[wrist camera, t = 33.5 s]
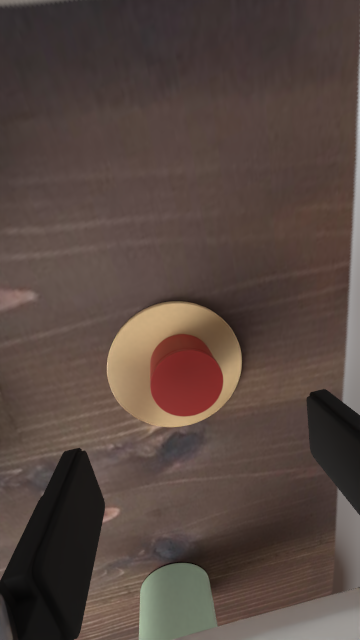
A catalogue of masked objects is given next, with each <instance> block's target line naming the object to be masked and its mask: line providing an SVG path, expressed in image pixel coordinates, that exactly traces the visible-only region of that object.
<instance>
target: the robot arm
mask: <svg viewBox="0 0 360 640" xmlns="http://www.w3.org/2000/svg"><path fill="white" fill-rule="evenodd" d="M307 411H308V426H309V441H310V450H311V453H312V455H313V457H314V458H315V460H316V461H317V462H318V463H319V465H320V466H321V467H322V468H323V470H324V471H325V472H326V473H327V475H328V476H329V477H330V478H331V480H332V481H333V482H334V483H335V485H336V486H337V487H338V488H339V490H340V491H341V492H342V494H343V495H344V496H345V497H346V499H347V500H348V501H349V502H350V504H351V505H352V506H353V507H354V509H355V510H356V511H357V512H358V514H359V515H360V415H359V414H357V413H356V412H355V411H353V410H352V409H351V408H349V407H348V406H347V405H346V404H344V403H343V402H342V401H340V400H339V399H338V398H336V397H335V396H334V395H333V394H331V393H330V392H329V391H327V390H325V389H323V390H318V391H314V392H311V393H310V396H309V397H307ZM104 511H105V502H104V498H103V496H102V493H101V490H100V488H99V485H98V482H97V480H96V477H95V474H94V471H93V469H92V466H91V463H90V461H89V458H88V455H87V453H86V451H82V450H81V449H80V448H77V449H72V450H68V451H65V452H64V453H63V454H62V456H61V458H60V461H59V463H58V465H57V467H56V469H55V471H54V473H53V475H52V477H51V480H50V482H49V484H48V486H47V488H46V490H45V492H44V494H43V496H42V497H41V498H40V500H39V501H38V503H37V506H36V508H35V510H34V512H33V514H32V516H31V518H30V520H29V522H28V524H27V526H26V528H25V530H24V533H23V535H22V537H21V539H20V541H19V543H18V545H17V547H16V549H15V551H14V553H13V555H12V558H11V560H10V562H9V564H8V566H7V568H6V570H5V572H4V574H3V576H2V578H1V580H0V640H74V639H76V638H77V637H78V636H79V633H80V630H81V626H82V621H83V616H84V611H85V606H86V601H87V596H88V591H89V586H90V581H91V576H92V571H93V566H94V561H95V556H96V551H97V546H98V541H99V536H100V531H101V526H102V521H103V516H104ZM172 640H360V587H358V588H355V589H351V590H348V591H344V592H340V593H336V594H333V595H329V596H325V597H322V598H318V599H314V600H311V601H307V602H303V603H300V604H296V605H293V606H289V607H286V608H282V609H278V610H275V611H271V612H268V613H264V614H260V615H257V616H253V617H250V618H246V619H243V620H239V621H236V622H232V623H228V624H225V625H221V626H218V627H214V628H211V629H207V630H204V631H200V632H197V633H193V634H190V635H186V636H183V637H179V638H176V639H172Z"/></svg>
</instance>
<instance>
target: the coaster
mask: <svg viewBox="0 0 360 640" xmlns="http://www.w3.org/2000/svg"><path fill="white" fill-rule="evenodd" d="M178 334H188V335H192V336H195V337H197V338H199V339H200V340H202V341H203V342H204V343H205V344H206V345H207V347H208V348H209V350H210V352H211V353H212V355H213V356H214V358H215V360H216V361H217V363H218V365H219V366H220V368H221V371H222V374H223V388H222V391H221V394H220V396H219V398H218V399H217V401H216V402H215V403H214V404H213V405H212V406H211V407H210V408H209V409H207V410H206V411H204V412H202V413H200V414H197V415H193V416H186V417H182V416H175V415H172V414H169V413H167V412H165V411H164V410H162V409H161V408H160V407H159V406H158V405H157V404H156V402H155V401H154V399H153V397H152V394H151V390H150V361H151V356H152V354H153V351H154V350H155V348H156V347H157V346H158V344H159V343H160V342H162V341H163V340H165V339H166V338H168V337H170V336H173V335H178ZM241 367H242V356H241V350H240V345H239V343H238V340H237V338H236V336H235V334H234V332H233V330H232V329H231V328H230V326H229V325H228V324H227V323H226V322H225V321H224V320H223V319H222V318H221V317H220V316H218V315H217V314H216V313H215V312H213V311H211V310H210V309H208V308H206V307H203V306H201V305H198V304H194V303H190V302H183V301H170V302H164V303H159V304H156V305H152V306H150V307H148V308H146V309H143V310H142V311H140V312H138V313H137V314H135V315H134V316H133V317H132V318H130V319H129V320H128V321H127V322H126V323H125V324H124V325H123V326H122V328H121V329H120V330H119V332H118V333H117V335H116V337H115V339H114V340H113V343H112V345H111V348H110V351H109V355H108V359H107V377H108V381H109V385H110V388H111V390H112V393H113V394H114V396H115V398H116V400H117V401H118V402H119V403H120V405H121V406H122V407H123V408H124V409H125V410H126V411H127V412H128V413H130V414H131V415H132V416H134V417H136V418H137V419H139V420H141V421H143V422H146V423H148V424H152V425H156V426H162V427H180V426H186V425H190V424H193V423H197V422H199V421H201V420H204V419H205V418H207V417H209V416H211V415H212V414H214V413H215V412H216V411H218V410H219V409H220V408H221V407H222V406H223V405H224V404H225V403H226V402H227V401H228V399H229V398H230V397H231V395H232V394H233V392H234V390H235V388H236V386H237V384H238V381H239V378H240V374H241Z"/></svg>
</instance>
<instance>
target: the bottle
mask: <svg viewBox="0 0 360 640" xmlns="http://www.w3.org/2000/svg"><path fill="white" fill-rule="evenodd" d="M214 627H218V626H217V621H216V615H215V610H214V604H213V599H212V593H211V588H210V582H209V577H208V575H207V573H206V572H205V571H204V570H203V569H202V568H201V567H199V566H197V565H194V564H190V563H175V564H170V565H166V566H164V567H161V568H159V569H157V570H156V571H154V572H153V573H151V574H150V575H149V576H148V577H147V578H146V579H145V581H144V582H143V584H142V587H141V592H140V622H139V640H172V639H176V638H179V637H183V636H186V635H190V634H193V633H197V632H200V631H204V630H207V629H211V628H214Z"/></svg>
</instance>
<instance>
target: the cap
mask: <svg viewBox="0 0 360 640" xmlns="http://www.w3.org/2000/svg"><path fill="white" fill-rule="evenodd" d="M222 388H223V374H222V371H221V368H220V366H219V365H218V363H217V361H216V360H215V358H214V356H213V355H212V353H211V352H210V350H209V348H208V347H207V345H206V344H205V343H204V342H203V341H202V340H200V339H199V338H197V337H195V336H192V335H188V334H178V335H173V336H170V337H168V338H166V339H165V340H163V341H162V342H160V343H159V344H158V346H157V347H156V348H155V350H154V351H153V354H152V356H151V361H150V390H151V394H152V397H153V399H154V401H155V402H156V404H157V405H158V406H159V407H160V408H161V409H162V410H164V411H165V412H167V413H169V414H172V415H175V416H182V417H186V416H193V415H197V414H200V413H202V412H204V411H206V410H207V409H209V408H210V407H211V406H212V405H213V404H214V403H215V402H216V401H217V399H218V398H219V396H220V394H221V391H222Z"/></svg>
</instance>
